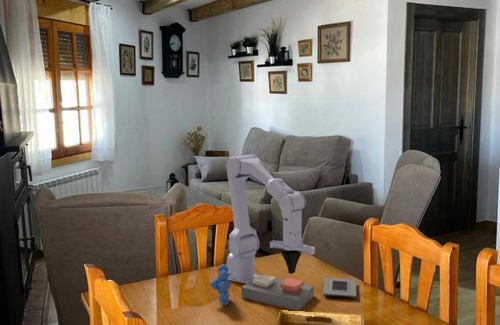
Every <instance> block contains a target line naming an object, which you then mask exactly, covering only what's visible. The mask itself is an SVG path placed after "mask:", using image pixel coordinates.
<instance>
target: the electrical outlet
mask: <svg viewBox="0 0 500 325" xmlns="http://www.w3.org/2000/svg"><path fill="white" fill-rule="evenodd" d="M322 287H323V289H322V295H323V296H326V297H340V298H353V299H355V298H356V297H357V279H349V278H348V279H347V278H346V279H345V278H335V277H332V278H331V277H324V279H323V286H322Z"/></svg>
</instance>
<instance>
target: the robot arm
mask: <svg viewBox="0 0 500 325" xmlns="http://www.w3.org/2000/svg"><path fill="white" fill-rule="evenodd" d="M225 167H226V173H227V174H226V175H227V180H228V187H229V192H230V201H231V208H232V210H231V211H232V217H233V224H234V229H233V230H232V231H231V233H229V235H228V236H229V238H228V239H229V243H228V250H229V252H230V253H229V254H228V256H227V259H226V266H227V267H228V269H229V270H228V272H227V273H228V274H229V276H228V280H229V281H230V282H231V281H232V282H237V283H242V284H244V285H245V284H247V283H248V282H250V281H251V280H253V279H254V278H255V277H257V276H258V275H259V274H255V270H256V269H255V266H256V265H255V262H256V260H255V255H256V254H257V251H258V250H259V249H260V240H259V236H258V235H257V230H256V229H255V228H253V227H252V226H251V225H250V214H249V207H248V199H247V193H246V192H247V191H246V186H245V185H246V184H245V183H246V180H248V178H249V177H251V176H254V177H255V178H256V179H257V180H259V182H261V183H263V185H265V187H266V191H267V193H268V194H269V195H270V196H272V198H274V199H275V200H276V201H277V203H278V206H279V209H280V210H281V216H282V240H274V239H273V240H271V241H269V248H270V249H273V248H274V249H281V250H282V252H281V256H282V258H283V259H284V261H285V264H286V267H287V271H288V274H289V275H290V274H291V275H293V274H294V273H296V270H297V264H298V262H299V259H300V258H301V256H302V254H307V255H309V256H313V255H314V254H315V253H316V247H314V246H310V245H309V244H308V245H307V244H304V243H302V220H303V219H302V217H303V216H302V212H303V209H305V207H306V203H307V202H306V197H305V195H304V194H303V193H302V192H301V191H298V190H297V191H296V190H293V189H292V187H289V185H288V184H287V183H285V182H284V179H282V178H280V177H274V176H273V175H272V174H271V173H270V172H269V171H268V170H267V169H266V168H265V167H264V166H263V164H262V162H261V159H260V158H259V157H258V156H257V155H256V154H254V153H250V154H245V155H235V156H234V155H233V156H230V157H229V158H228V160H227V162H226V163H225Z"/></svg>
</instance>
